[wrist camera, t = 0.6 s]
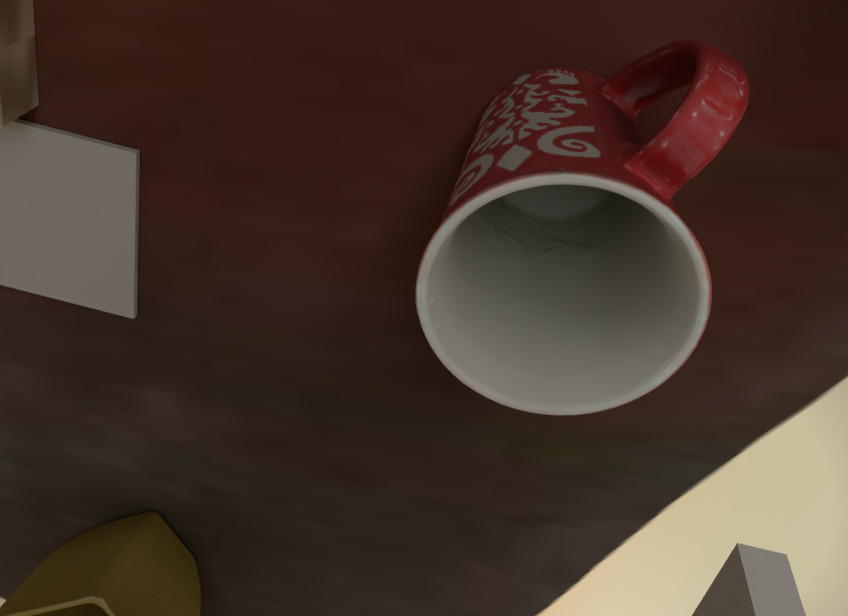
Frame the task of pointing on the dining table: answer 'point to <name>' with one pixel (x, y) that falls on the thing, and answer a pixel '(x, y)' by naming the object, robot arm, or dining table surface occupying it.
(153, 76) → the dining table surface
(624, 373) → the mug
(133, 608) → the flower pot
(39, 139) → the mat
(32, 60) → the chuck block
